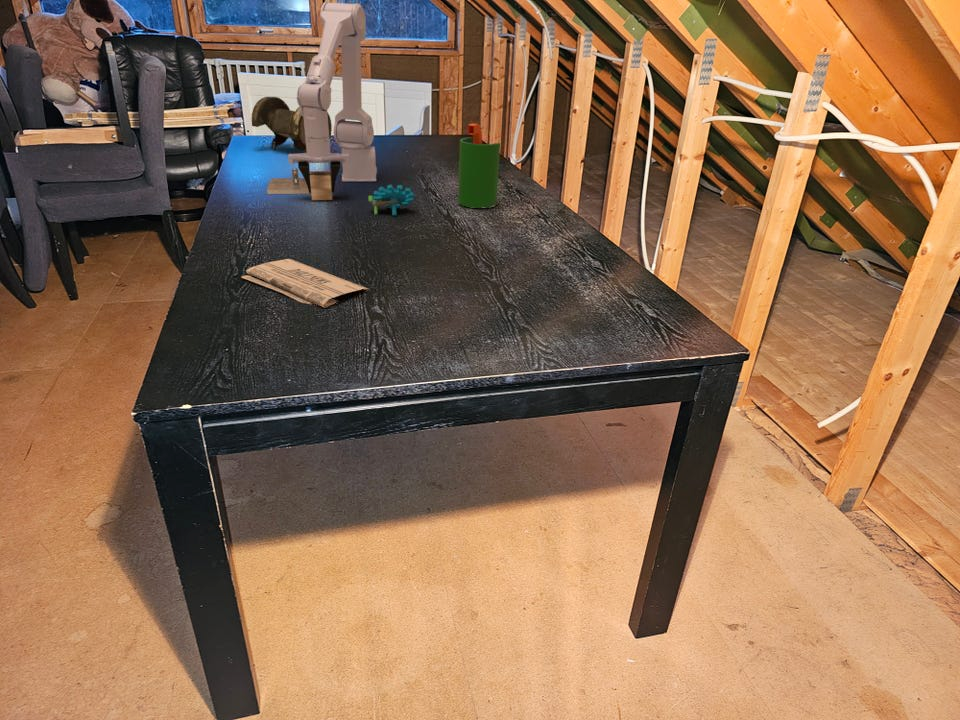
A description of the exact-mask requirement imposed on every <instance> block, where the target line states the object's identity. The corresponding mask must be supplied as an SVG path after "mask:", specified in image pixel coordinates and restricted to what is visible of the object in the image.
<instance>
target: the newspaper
mask: <svg viewBox="0 0 960 720" xmlns="http://www.w3.org/2000/svg"><path fill="white" fill-rule="evenodd" d="M245 271H246V274H248V275H243V276H241V278H242V279H245V280H248V281H250V282H252V283H255V284H258V285H260V286H263V287H265V288H268V289H271V290H273V291H275V292H278V293H281V294H283V295H285V296H287V297H289V298H291V299H294V300H296V301H297V302H300V303H302V304H308V305H312V304H314V305H313V306H316V305H318V306H321V307H322V308H328V307H330V306H332V305H335V303H336V301H335V300H332V299H331V298H336V297H339V296H342V295H346V294H350V293H352V292H357V291H363V290H367V291H366V292H369V291H370V288H367V287H366V286H363V285H360V284H357V283H354V282H353V281H349V280H348V279H347V280H346V279H344V278H341V277H338V276H335V275H333V274H330V273H328V272H326V271H323V270H320V269H317V268H316V267H313V266H309V265H307V264H304V263H302V262H300V261H297V260H295V259H294V260H293V259H291V258H285V259H280V260H275V261H267V262H264V263H262V264H257V265H254V266H251V267H249V268H248V269H246V270H245ZM252 276H254V277H257V278H259V279H257V278H254V277H252ZM260 279H262V280H264V281H262V280H260ZM265 281H267V282H269V283H271V284H269V283H266V282H265ZM272 284H274V285H272ZM275 285H276V286H275ZM277 286H278V287H277ZM279 287H281V288H279ZM282 288H283V289H282ZM362 289H363V290H362ZM368 290H369V291H368ZM312 302H313V303H312ZM315 304H316V305H315ZM336 304H337V303H336Z"/></svg>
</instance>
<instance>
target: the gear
mask: <svg viewBox="0 0 960 720" xmlns="http://www.w3.org/2000/svg"><path fill="white" fill-rule="evenodd" d="M367 198H368V199H367V200H368V203H369V204H371V206H372V207H374V209H373V210H374V211H373V212H374V213H373V214H374V215H375V216H377V215H378V208H379V207H380V208H381V207H384V208H385V209H390V208H391V212H392V213H391V215H392V217H396V216H397V209H400V208H401V206H403V207H408V206H409V203H413V201H414V198H415V193H414V192H413V191H411V188H409V187H405V188H404V191H403V185H402V184H398V185H396V188H394V187H393V184H389V185H387V186H386V188H385V187H384V186H380V187H378V191H377V190H374V191H373V195H368V197H367Z"/></svg>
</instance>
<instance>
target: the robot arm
mask: <svg viewBox="0 0 960 720" xmlns="http://www.w3.org/2000/svg"><path fill="white" fill-rule="evenodd" d="M319 13H320V14H319V16H320V23H321V27H322V35H321V40H320V42H319V43H320V45H319V50H318V53H317V54H316V55H313V57H312V58H311V61H310V64H309V67H308V71H307V74H306V77H305V81H304V83H302V84H300V85H299V86H298V88H297V92H296V93H297V94H296V102H297V104H298V107H300V111H301V115H302V116H303V118H304V129H305V139H306V150H307V151H306V153H305V152H303V153H300V152H299V153H288V156H287V157H288V164H290V165H291V164H292V165H293V164H297V169H298V171H300V173H301V174H302V178H304V179H305V181H306V184H307V187H308V190H309V193H310V194H311V184H310V171H311V170H310V164H329V167H330V171H331V182H332V183H331V189H332V194H333V193H336V191H335V187H336V181H337V178H338V174H339V171H340V169H341V165H342V173H341V182H345V183H346V182H347V183H348V182H377V174H378V167H377V166H376V165H377V164H376V163H377V162H376V161H377V160H376V149H375V148H376V147H375V146H371V145H372V144H373V141H374V138H375V137H374V136H375V135H374V134H375V132H374V127H373V118H372V117H371V115H369V114H368V113H367V112H366V111H365V110H364V109H363V107H362V105H363V104H362V53H361V51H362V50H361V48H362V47H361V46H362V45H361V42H362V41H365V40H366V33H367V26H366V23H367V22H366V21H367V20H366V19H367V18H366V13H365V9H364V8H363V6H362V5H361V3H342V2H329V1H325V2H323V4H322V5H321V8H320V12H319ZM339 46H341V75H342V76H341V79H342V80H341V81H342V109H341V110H340V111H338V112H337V113H336V115H334V125H333V129H332V130H333V132H332V133H333V138H334V140H335V141H336V143H338V146H339V147H341V153H336V152H331V145H330V144H331V142H330V140H329V128H328V114H329V113H328V114H327V112H328V110H329V109H330V107H331V103H332V87H331V85H332V82H333V77H334V75H335V72H336V64H335V62H334V59H335V56H336V54H337V51H338V49H339Z"/></svg>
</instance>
